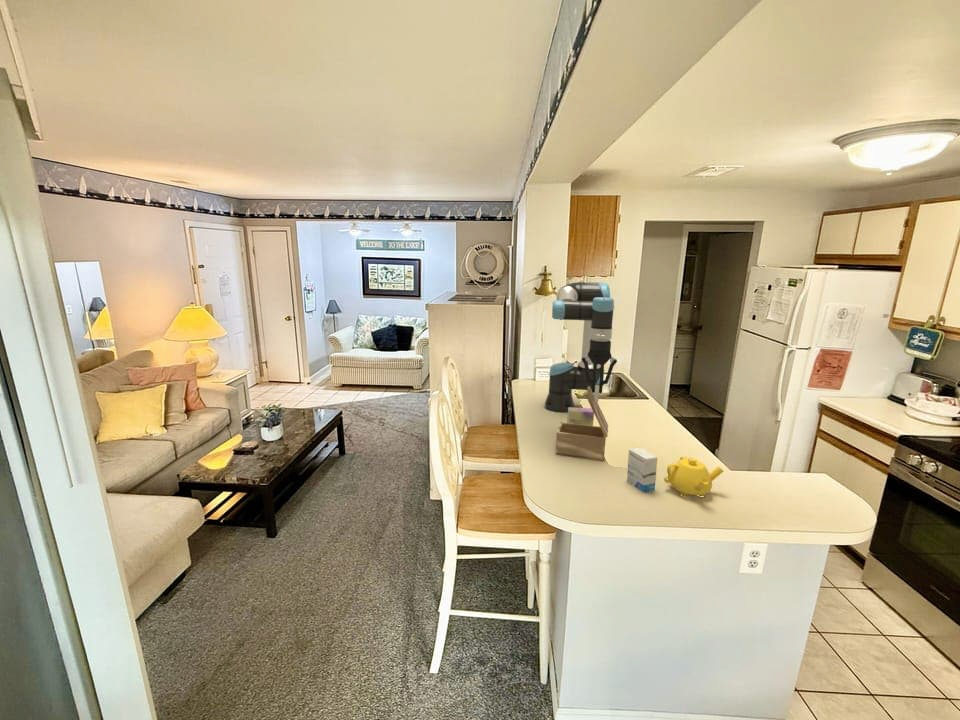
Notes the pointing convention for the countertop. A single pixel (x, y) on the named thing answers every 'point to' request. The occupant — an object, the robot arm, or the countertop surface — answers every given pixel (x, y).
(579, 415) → the box
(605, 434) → the lid
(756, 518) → the countertop surface
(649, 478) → the ink box
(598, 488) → the countertop surface
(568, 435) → the brown wooden crate
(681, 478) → the teapot
